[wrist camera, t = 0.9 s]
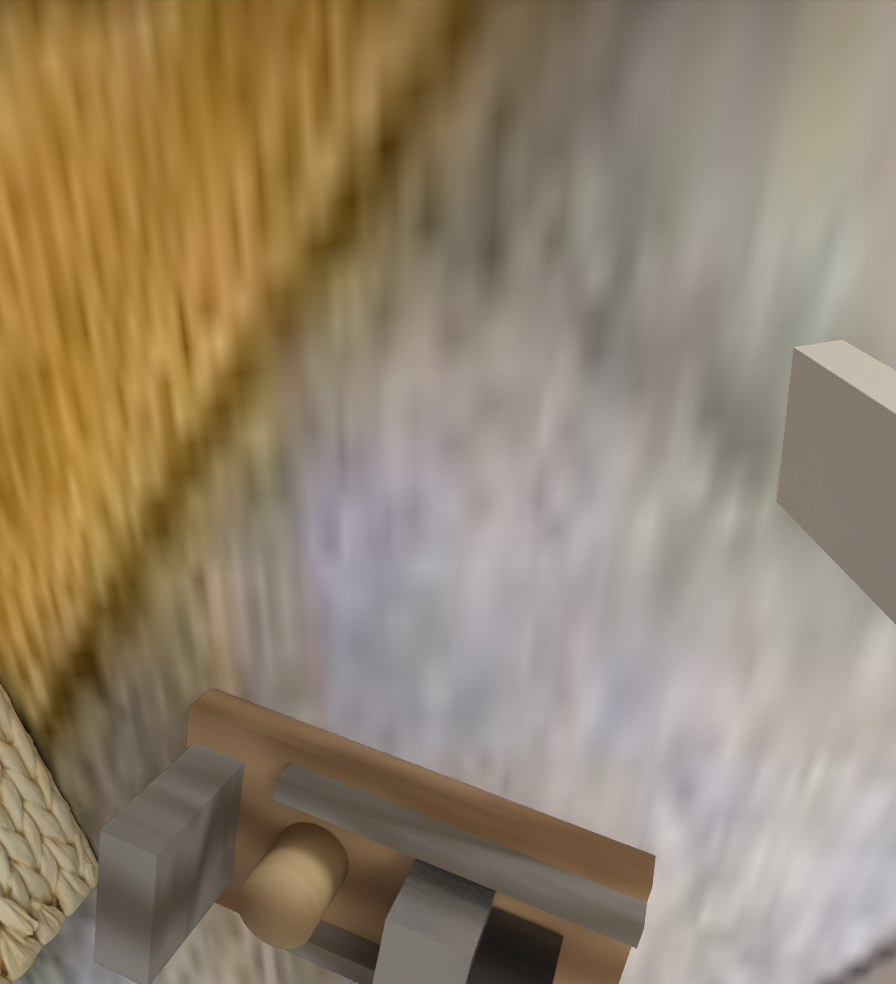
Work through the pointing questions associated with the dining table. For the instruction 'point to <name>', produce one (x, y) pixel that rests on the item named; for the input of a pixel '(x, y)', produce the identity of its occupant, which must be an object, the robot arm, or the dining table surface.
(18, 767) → the storage basket
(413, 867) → the handle
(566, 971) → the base
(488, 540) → the dining table surface
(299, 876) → the tan rounded cylinder
